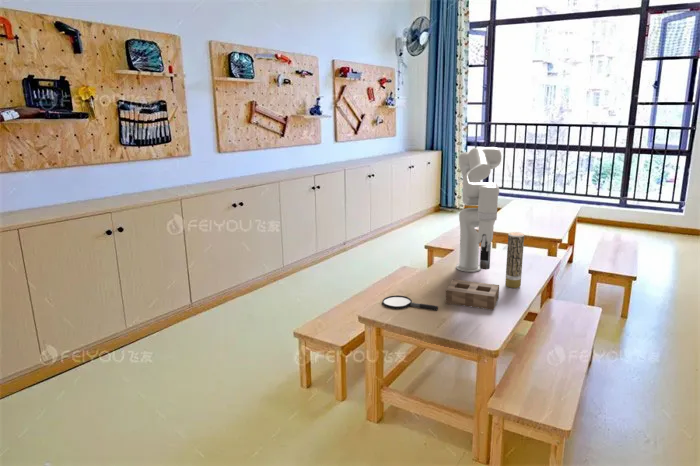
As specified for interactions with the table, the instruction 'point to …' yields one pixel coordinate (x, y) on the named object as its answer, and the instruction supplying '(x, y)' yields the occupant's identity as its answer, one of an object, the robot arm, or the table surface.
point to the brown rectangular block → (472, 294)
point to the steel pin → (484, 263)
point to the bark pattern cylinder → (514, 259)
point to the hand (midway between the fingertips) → (485, 258)
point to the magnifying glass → (404, 303)
